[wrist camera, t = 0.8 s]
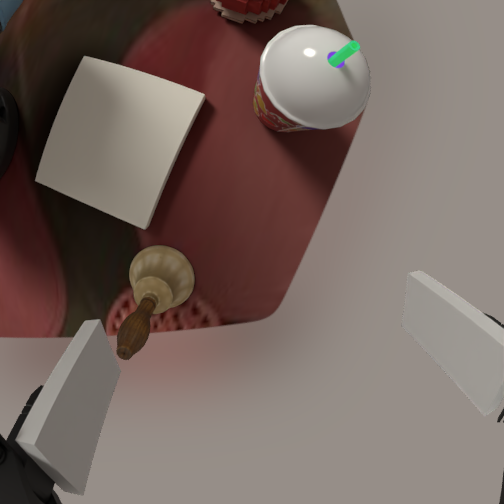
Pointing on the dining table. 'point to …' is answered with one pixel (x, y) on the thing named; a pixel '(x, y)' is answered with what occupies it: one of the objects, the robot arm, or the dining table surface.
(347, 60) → the smoothie
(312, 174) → the dining table surface
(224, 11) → the cake
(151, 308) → the hand bell
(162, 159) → the stand
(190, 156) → the dining table surface
